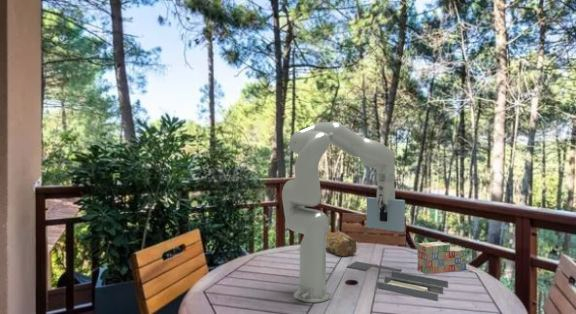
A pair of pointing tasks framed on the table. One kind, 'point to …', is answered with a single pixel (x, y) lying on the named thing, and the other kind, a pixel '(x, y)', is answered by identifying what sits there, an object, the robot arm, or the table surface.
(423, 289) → the offcut upper
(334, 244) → the petrified wood
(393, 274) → the rack
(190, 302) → the table surface
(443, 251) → the stack of blocks
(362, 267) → the mat
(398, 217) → the panel
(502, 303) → the table surface
